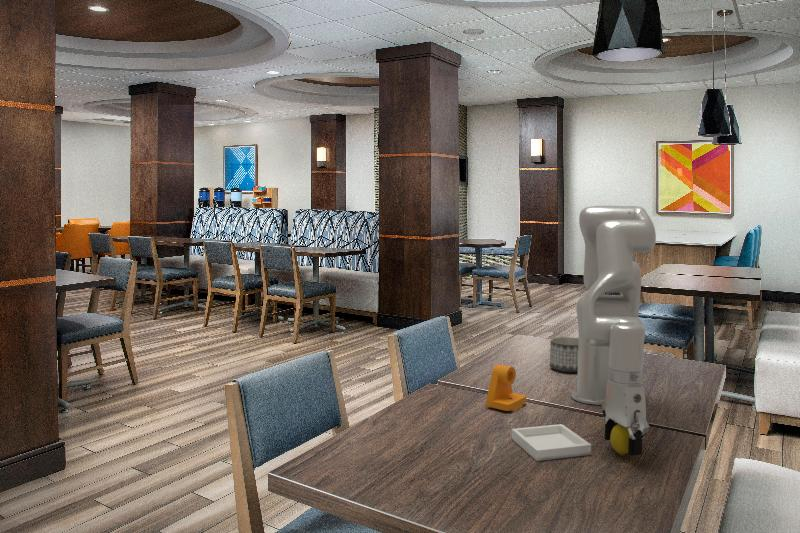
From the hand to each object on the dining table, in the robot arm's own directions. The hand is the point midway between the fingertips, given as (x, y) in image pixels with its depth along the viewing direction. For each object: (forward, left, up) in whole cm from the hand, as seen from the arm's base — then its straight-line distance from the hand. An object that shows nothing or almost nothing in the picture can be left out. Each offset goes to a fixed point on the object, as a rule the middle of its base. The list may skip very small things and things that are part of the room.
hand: (622, 446), depth 149 cm
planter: (-25, -70, -2) cm, 74 cm away
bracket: (+12, -39, -2) cm, 41 cm away
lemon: (0, 0, -2) cm, 2 cm away
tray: (+14, -9, -2) cm, 17 cm away
